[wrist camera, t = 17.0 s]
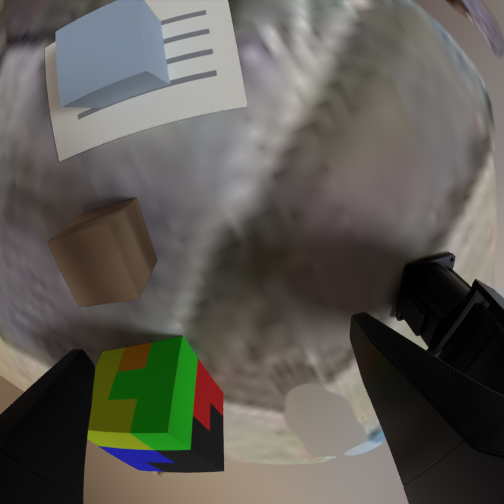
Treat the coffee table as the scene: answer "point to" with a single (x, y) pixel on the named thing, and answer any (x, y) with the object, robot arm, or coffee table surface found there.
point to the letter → (168, 97)
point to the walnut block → (105, 254)
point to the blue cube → (110, 55)
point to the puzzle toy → (158, 408)
